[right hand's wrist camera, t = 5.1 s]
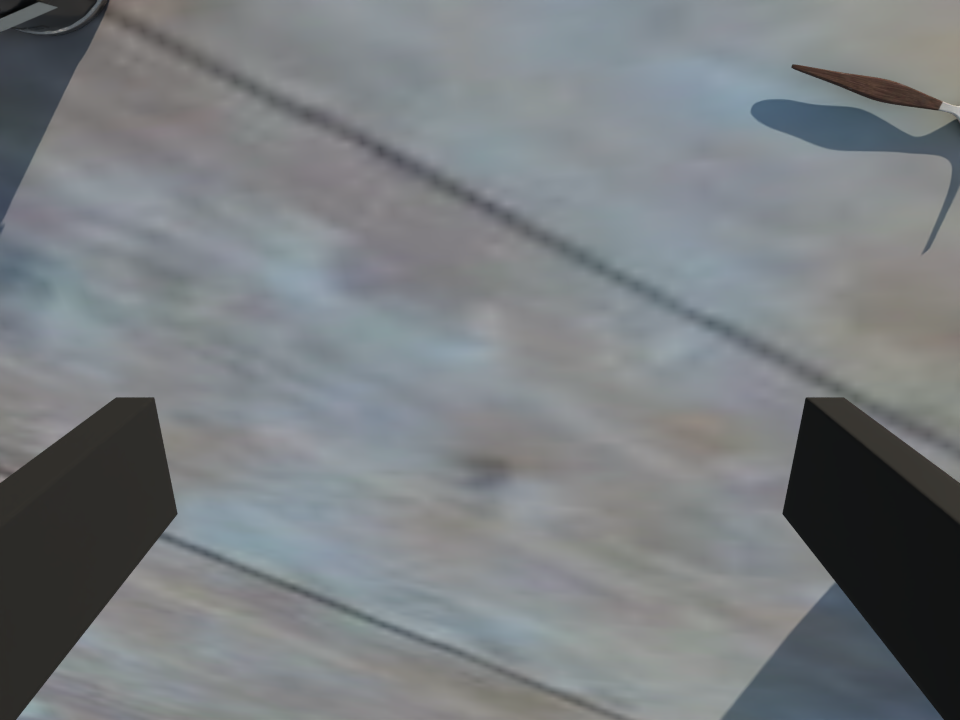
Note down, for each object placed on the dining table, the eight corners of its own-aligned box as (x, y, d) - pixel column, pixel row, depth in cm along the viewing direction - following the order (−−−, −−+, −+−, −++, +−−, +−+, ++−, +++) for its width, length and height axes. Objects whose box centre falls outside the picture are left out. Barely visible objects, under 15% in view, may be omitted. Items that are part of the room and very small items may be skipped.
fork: (796, 41, 35) (814, 36, 33) (1051, 111, 36) (1082, 110, 34) (778, 90, 36) (795, 88, 34) (1027, 157, 37) (1056, 158, 35)
